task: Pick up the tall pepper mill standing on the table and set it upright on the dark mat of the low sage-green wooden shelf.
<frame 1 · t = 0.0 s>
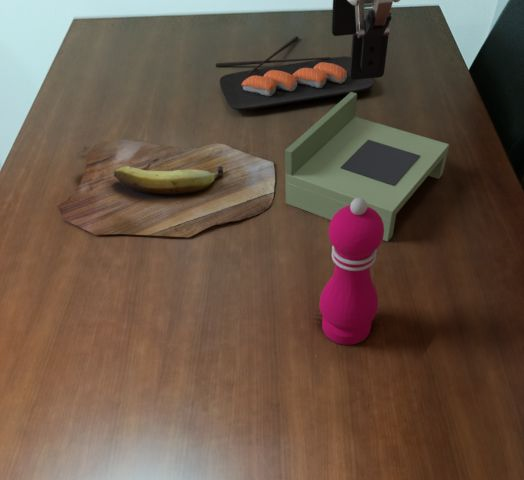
hand: (356, 54, 59), 30 cm above the table, tool pointing down, fingers open, 9 cm apart
shelf: (365, 188, 95), on the table
sushi plate: (285, 73, 121), on the table
cutting board: (170, 187, 97), on the table
pepper mill: (346, 328, 76), on the table
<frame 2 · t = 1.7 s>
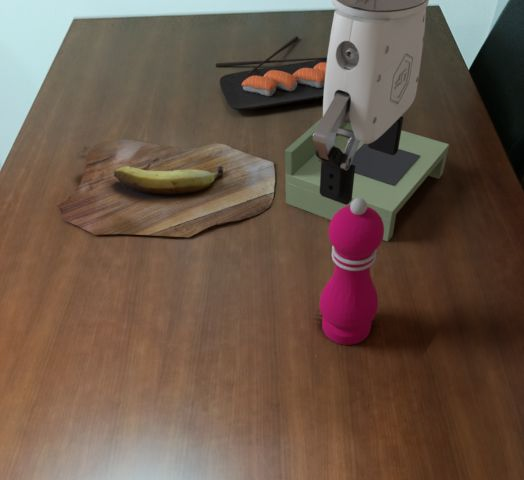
hand: (359, 173, 58), 23 cm above the table, tool pointing down, fingers open, 9 cm apart
nothing on the table moved.
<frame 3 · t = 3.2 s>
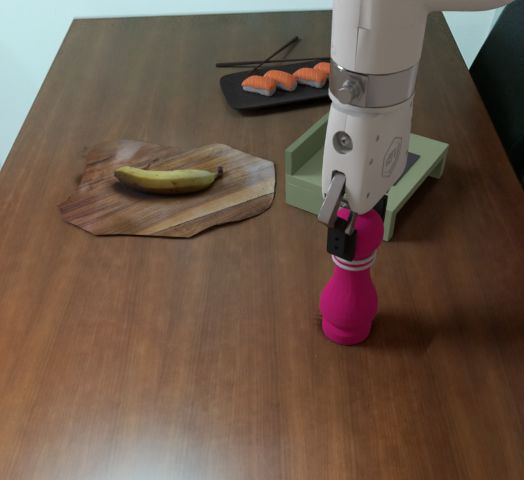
hand: (355, 237, 64), 15 cm above the table, tool pointing down, fingers closed on pepper mill, 6 cm apart
pepper mill: (346, 328, 76), on the table, touching gripper
everything else where it was.
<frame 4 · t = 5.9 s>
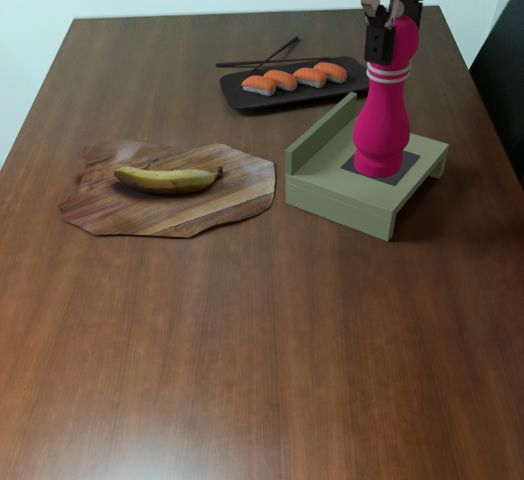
hand: (391, 48, 66), 27 cm above the table, tool pointing down, fingers closed on pepper mill, 6 cm apart
pepper mill: (377, 166, 78), point 12 cm above the table, touching gripper
everything else where it was.
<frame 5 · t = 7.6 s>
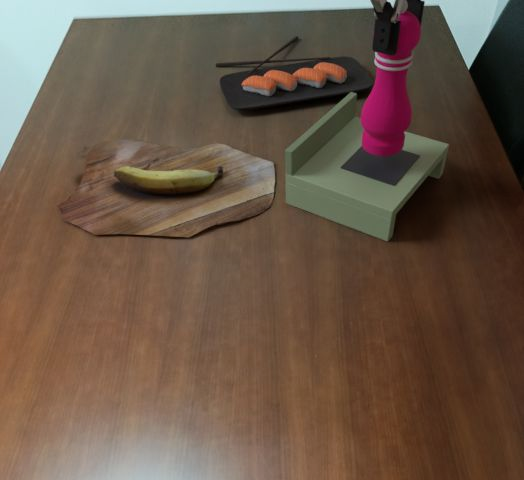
hand: (396, 41, 76), 23 cm above the table, tool pointing down, fingers closed on pepper mill, 6 cm apart
pepper mill: (382, 146, 87), point 8 cm above the table, touching gripper
everything else where it was.
when the fingers open (21 cm above the table, at t = 8.8 s): pepper mill stays where it is, resting on shelf.
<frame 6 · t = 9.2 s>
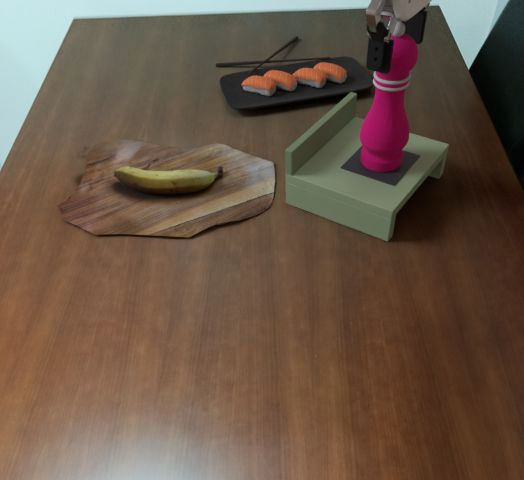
hand: (394, 55, 77), 22 cm above the table, tool pointing down, fingers open, 9 cm apart
pepper mill: (380, 162, 90), point 6 cm above the table, touching shelf
everything else where it was.
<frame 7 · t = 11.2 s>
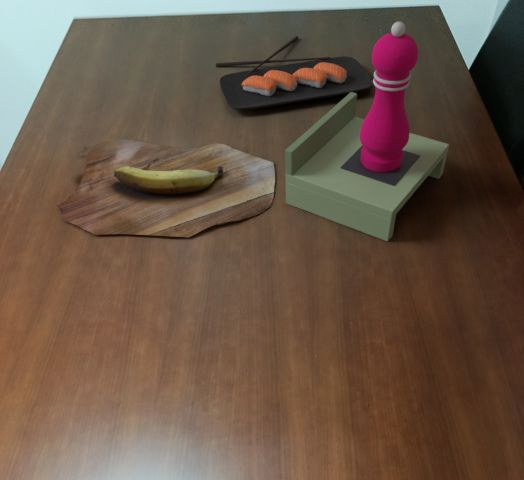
nothing on the table moved.
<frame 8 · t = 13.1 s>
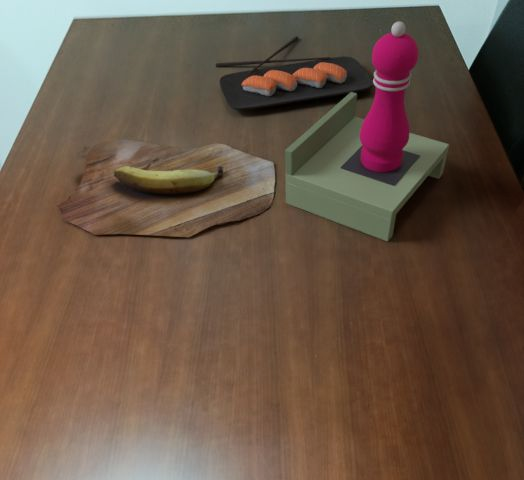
nothing on the table moved.
at the end: pepper mill inside the target area on the shelf (0.0 cm from its centre), point 5.5 cm above the shelf's base; pepper mill tilted 0°; the gripper is holding nothing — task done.
